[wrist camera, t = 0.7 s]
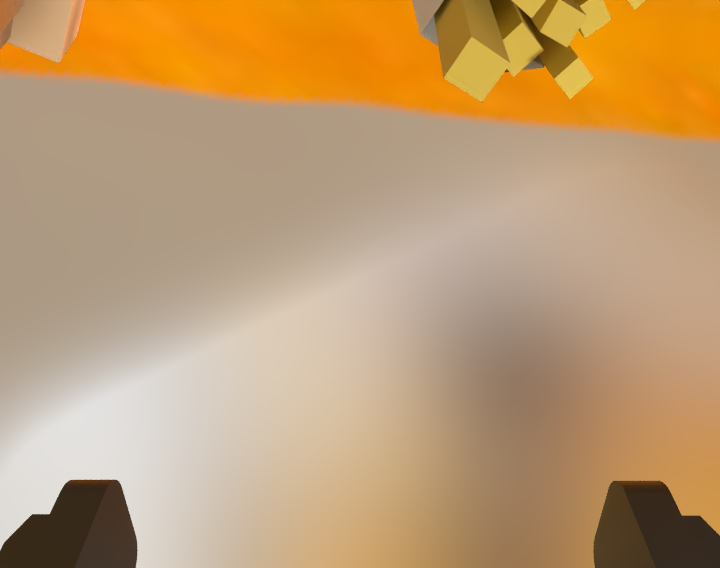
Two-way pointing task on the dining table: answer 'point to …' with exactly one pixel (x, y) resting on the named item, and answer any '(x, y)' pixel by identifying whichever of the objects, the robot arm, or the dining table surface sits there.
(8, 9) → the lever cap
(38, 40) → the body
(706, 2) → the dining table surface
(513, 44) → the french fries container
